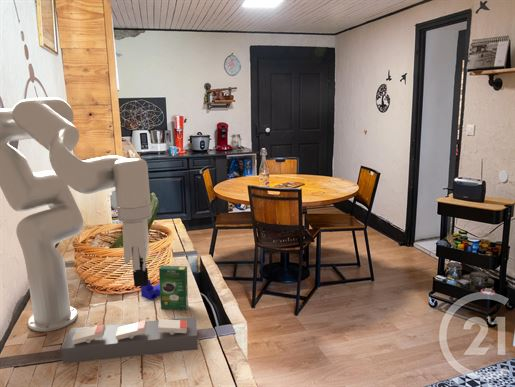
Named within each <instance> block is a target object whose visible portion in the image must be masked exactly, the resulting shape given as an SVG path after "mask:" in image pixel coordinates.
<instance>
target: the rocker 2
mask: <svg viewBox="0 0 515 387" xmlns="http://www.w3.org/2000/svg"><path fill="white" fill-rule="evenodd" d="M146 321H147V320H144V319H143V320H140V321H135V322H136V323H134V322H131V323H132V324H128V325H124V326H120V327H118V328H117V332H116V339H117V340H120V339H123V338H127V337H129V338H130V339H132V338H133V337H134V336H135V335H139V334H143V333H146V327H147V323H146Z"/></svg>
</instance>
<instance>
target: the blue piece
mask: <svg viewBox="0 0 515 387" xmlns="http://www.w3.org/2000/svg"><path fill="white" fill-rule="evenodd" d="M148 281H149V282H148V285H147V286H140V294H141V297H142V298H145V299H147V300H149V301H152V300H154V299H156V298H158V297H160V283H159V284H157V285H154V286H153V285H152V282H151V280H150V279H148Z"/></svg>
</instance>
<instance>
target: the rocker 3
mask: <svg viewBox="0 0 515 387" xmlns="http://www.w3.org/2000/svg"><path fill="white" fill-rule="evenodd" d="M158 320H159V324H158V332H170V334H171V335H173V334H174V333H186V332H187V321H186V320H168V319H167V318H166V319H165V318H159V319H158Z"/></svg>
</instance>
